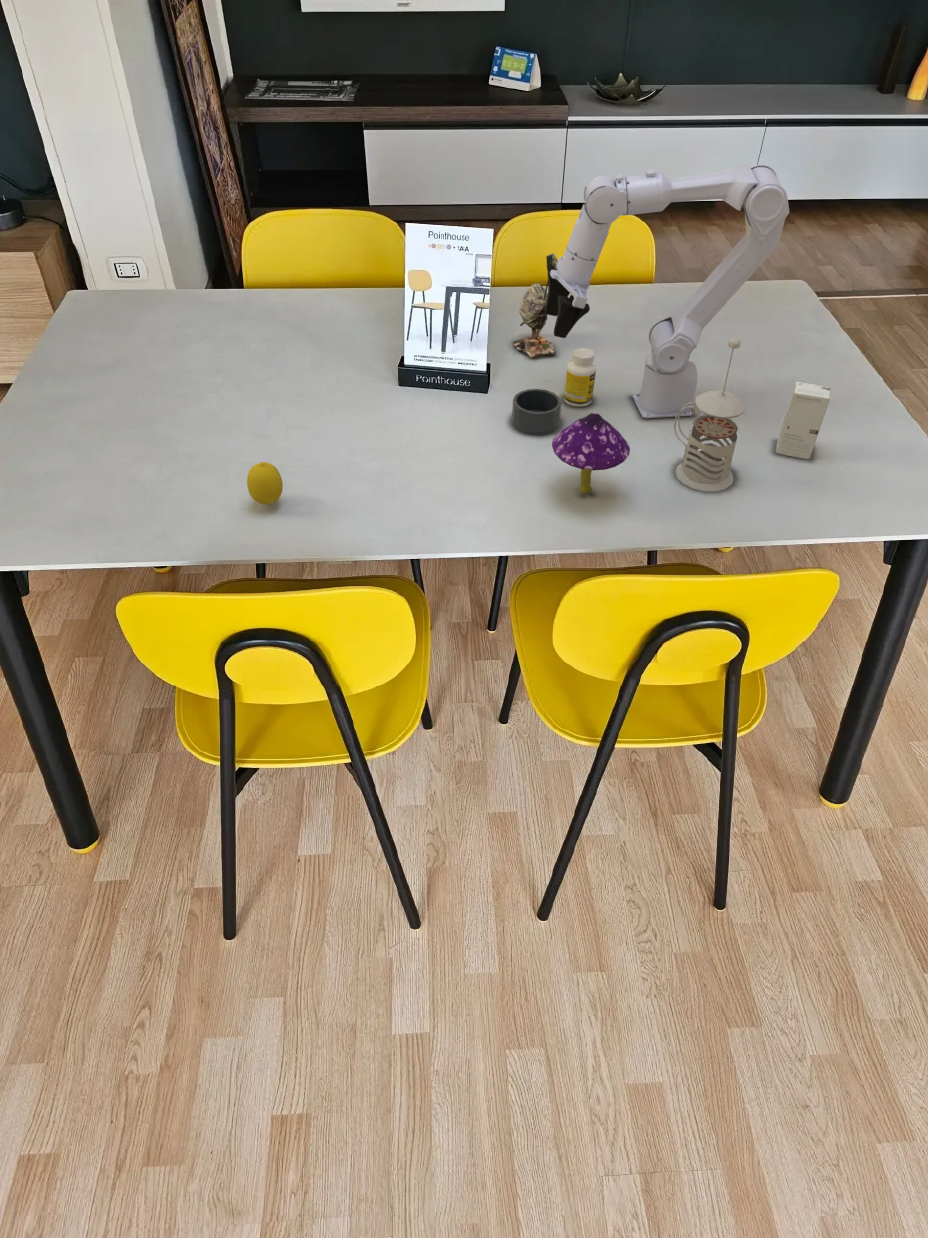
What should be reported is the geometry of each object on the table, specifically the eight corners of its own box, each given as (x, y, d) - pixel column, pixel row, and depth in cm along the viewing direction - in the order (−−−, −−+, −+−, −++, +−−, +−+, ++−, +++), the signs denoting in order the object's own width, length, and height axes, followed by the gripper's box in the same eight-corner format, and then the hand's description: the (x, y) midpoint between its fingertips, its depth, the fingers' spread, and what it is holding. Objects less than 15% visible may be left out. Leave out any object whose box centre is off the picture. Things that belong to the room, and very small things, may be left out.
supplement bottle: (590, 409, 177) (596, 361, 170) (561, 405, 178) (566, 358, 171) (593, 394, 181) (599, 347, 174) (565, 391, 181) (570, 344, 175)
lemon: (252, 495, 155) (245, 453, 150) (286, 493, 156) (280, 452, 150) (249, 515, 151) (242, 473, 146) (284, 514, 152) (278, 472, 146)
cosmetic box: (775, 454, 167) (792, 392, 158) (776, 441, 170) (794, 380, 162) (811, 460, 165) (830, 399, 157) (812, 447, 169) (831, 386, 160)
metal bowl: (553, 409, 177) (555, 387, 174) (563, 434, 170) (565, 412, 167) (508, 411, 176) (509, 390, 173) (516, 436, 169) (517, 414, 166)
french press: (721, 498, 157) (755, 360, 140) (656, 476, 161) (682, 339, 144) (741, 470, 163) (777, 334, 146) (678, 449, 167) (705, 315, 150)
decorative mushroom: (634, 508, 154) (648, 428, 144) (563, 520, 152) (572, 440, 141) (605, 466, 163) (616, 388, 153) (536, 477, 160) (543, 398, 150)
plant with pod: (545, 332, 199) (553, 237, 185) (558, 358, 191) (568, 260, 177) (508, 335, 198) (512, 239, 184) (519, 361, 190) (525, 263, 176)
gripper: (552, 228, 162) (526, 300, 172) (569, 267, 153) (541, 341, 162) (589, 237, 165) (562, 308, 174) (609, 276, 155) (579, 349, 164)
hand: (555, 325), depth 168 cm, fingers open, 7 cm apart
